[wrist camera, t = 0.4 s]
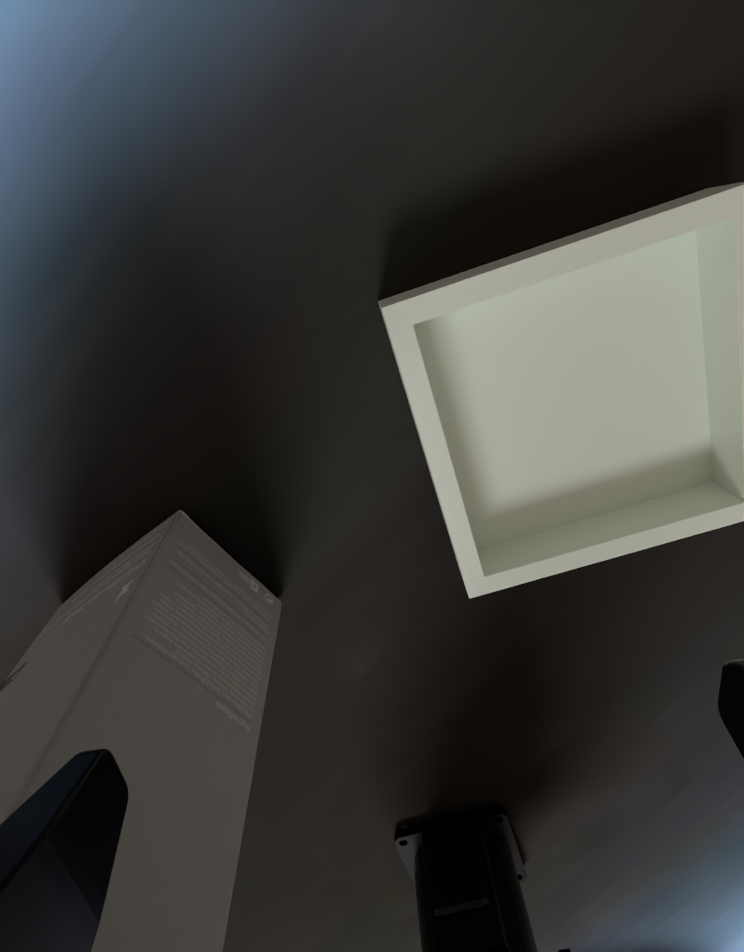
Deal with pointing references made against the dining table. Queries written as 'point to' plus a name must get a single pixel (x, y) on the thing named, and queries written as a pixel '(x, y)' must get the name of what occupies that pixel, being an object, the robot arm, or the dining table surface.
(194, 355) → the dining table surface
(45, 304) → the dining table surface
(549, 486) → the tray
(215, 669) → the skincare box
